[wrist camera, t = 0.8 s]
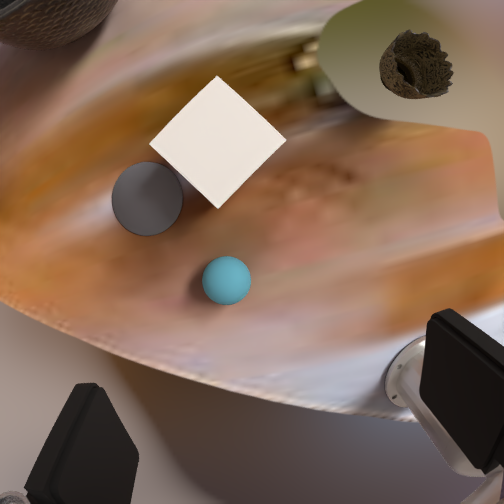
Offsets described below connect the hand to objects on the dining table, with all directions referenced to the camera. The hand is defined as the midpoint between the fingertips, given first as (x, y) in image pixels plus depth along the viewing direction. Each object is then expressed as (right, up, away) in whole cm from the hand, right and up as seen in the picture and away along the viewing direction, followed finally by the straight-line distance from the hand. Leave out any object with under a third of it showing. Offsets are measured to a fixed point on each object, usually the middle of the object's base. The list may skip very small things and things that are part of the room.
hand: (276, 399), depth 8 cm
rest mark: (-12, +10, +25) cm, 30 cm away
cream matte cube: (-4, +15, +25) cm, 29 cm away
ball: (-3, +1, +25) cm, 26 cm away
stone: (+16, +24, +24) cm, 38 cm away
